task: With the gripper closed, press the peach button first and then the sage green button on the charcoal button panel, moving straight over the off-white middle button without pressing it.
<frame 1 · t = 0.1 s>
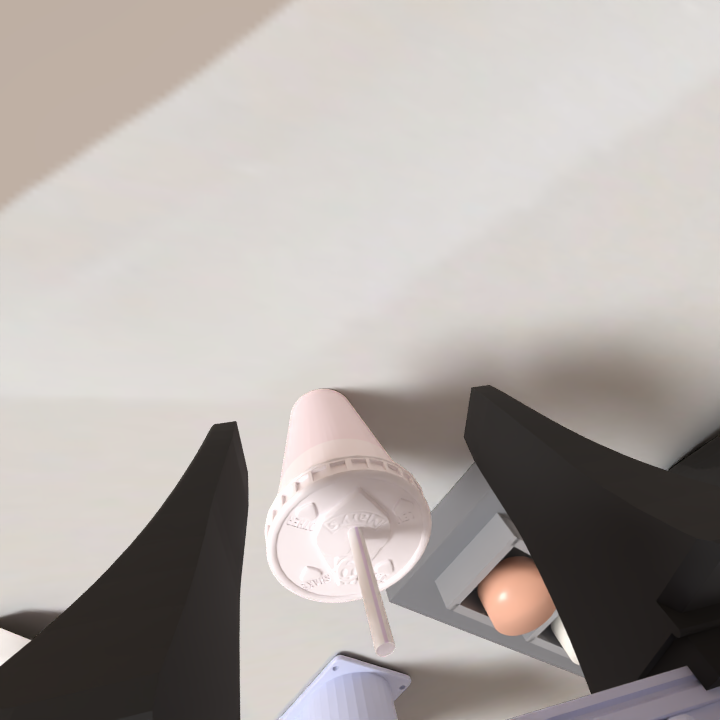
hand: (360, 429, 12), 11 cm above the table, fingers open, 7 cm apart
offwhite button: (588, 629, 28), point 5 cm above the table, slide at 0.0 cm
peach button: (517, 595, 25), point 5 cm above the table, slide at 0.0 cm
smoothie: (321, 415, 24), on the table
button panel: (543, 570, 33), on the table
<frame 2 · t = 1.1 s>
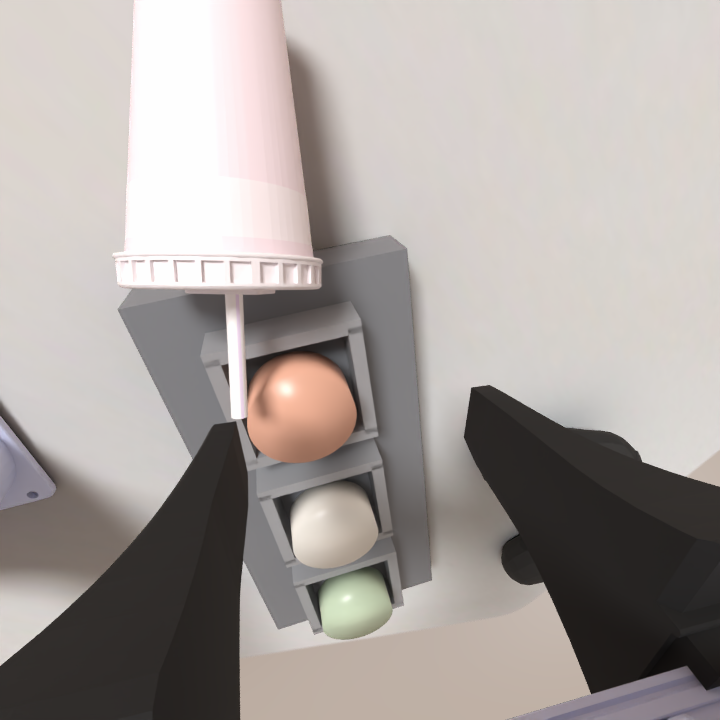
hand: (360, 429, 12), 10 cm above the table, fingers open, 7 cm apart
offwhite button: (333, 524, 21), point 5 cm above the table, slide at 0.0 cm
gaming controller: (536, 481, 33), on the table
peach button: (301, 407, 17), point 5 cm above the table, slide at 0.0 cm
sage button: (354, 602, 26), point 5 cm above the table, slide at 0.0 cm
button panel: (319, 458, 26), on the table
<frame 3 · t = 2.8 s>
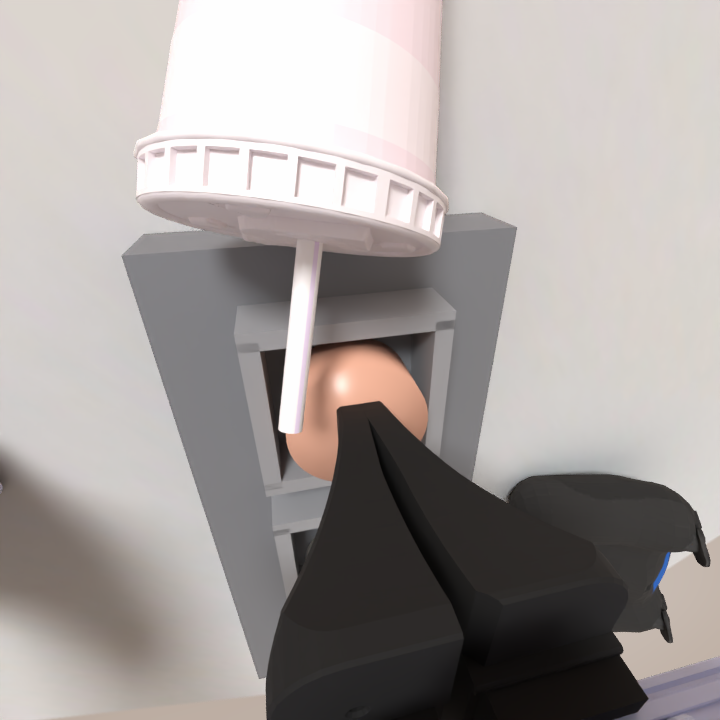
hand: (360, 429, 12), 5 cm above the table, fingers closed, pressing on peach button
offwhite button: (360, 571, 17), point 5 cm above the table, slide at 0.0 cm
gaming controller: (561, 529, 29), on the table
peach button: (352, 410, 13), point 4 cm above the table, slide at 0.6 cm, touching gripper
button panel: (340, 480, 21), on the table
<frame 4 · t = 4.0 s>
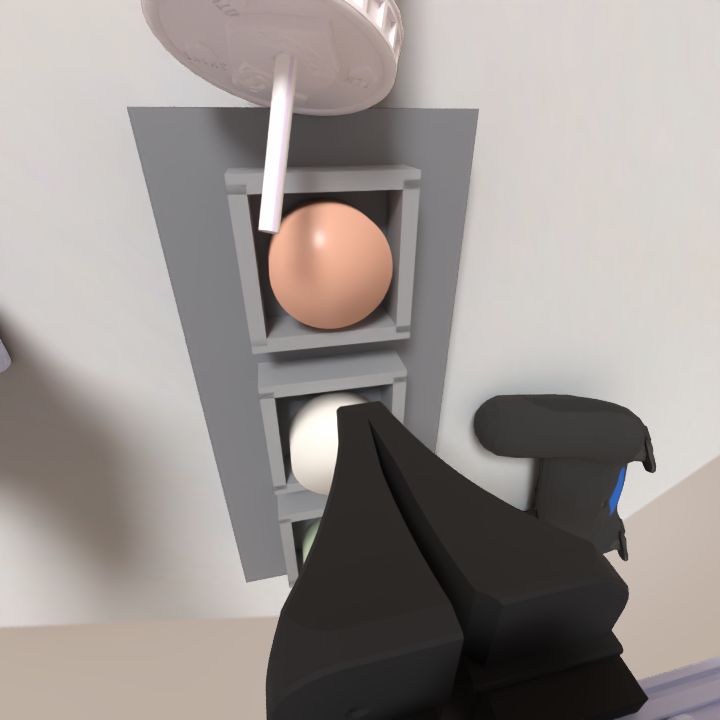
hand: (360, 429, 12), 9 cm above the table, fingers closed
offwhite button: (339, 443, 18), point 5 cm above the table, slide at 0.0 cm
gaming controller: (528, 459, 30), on the table
peach button: (328, 264, 15), point 4 cm above the table, slide at 1.0 cm
sage button: (342, 551, 22), point 5 cm above the table, slide at 0.0 cm
button panel: (324, 383, 22), on the table
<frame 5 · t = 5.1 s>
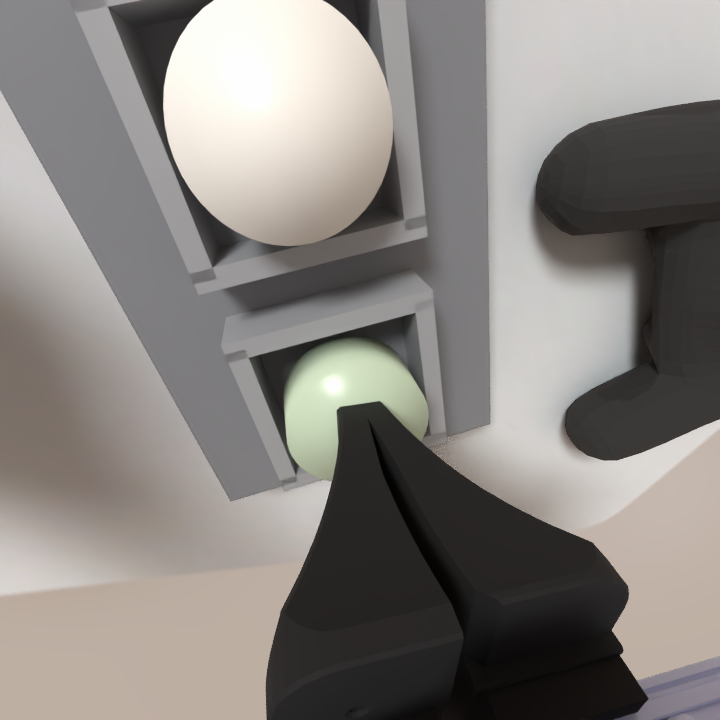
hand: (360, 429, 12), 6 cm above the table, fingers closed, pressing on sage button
offwhite button: (283, 132, 9), point 5 cm above the table, slide at 0.0 cm
gaming controller: (628, 281, 20), on the table
sage button: (353, 410, 13), point 5 cm above the table, slide at 0.0 cm, touching gripper
button panel: (275, 128, 13), on the table
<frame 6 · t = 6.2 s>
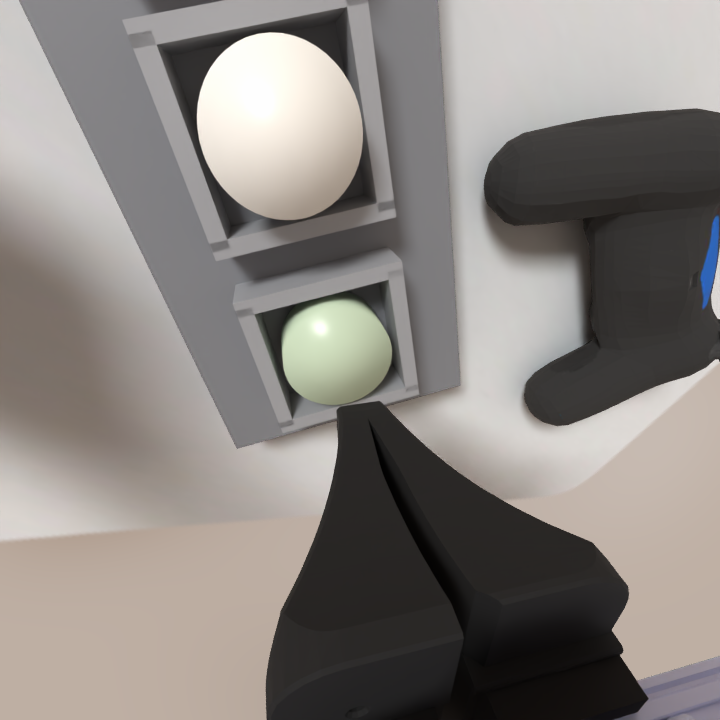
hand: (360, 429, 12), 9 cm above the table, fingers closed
offwhite button: (282, 134, 12), point 5 cm above the table, slide at 0.0 cm
gaming controller: (574, 268, 23), on the table
sage button: (335, 348, 17), point 4 cm above the table, slide at 1.0 cm
button panel: (276, 131, 16), on the table
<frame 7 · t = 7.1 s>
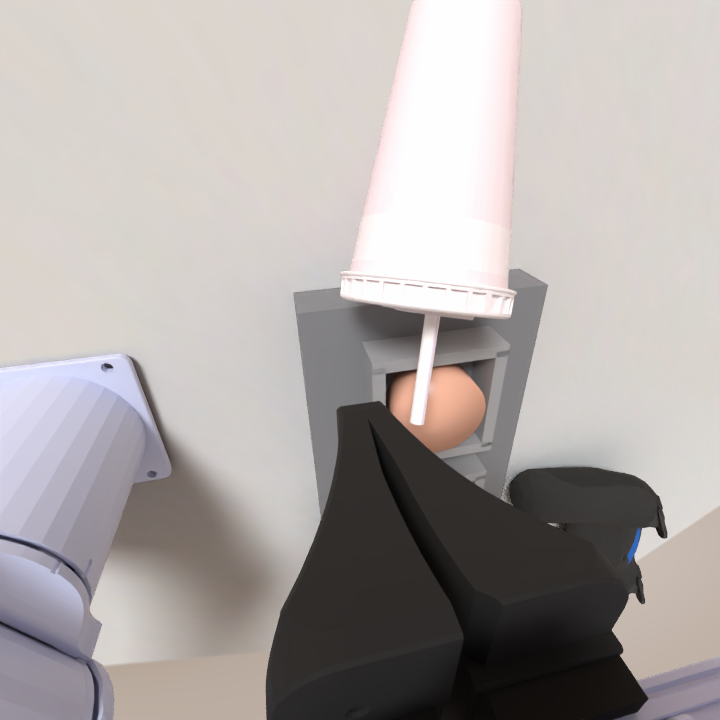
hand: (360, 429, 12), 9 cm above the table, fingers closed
gaming controller: (554, 513, 35), on the table
peach button: (433, 404, 20), point 4 cm above the table, slide at 1.0 cm
smoothie: (464, 13, 13), point 2 cm above the table, touching button panel
button panel: (405, 464, 27), on the table
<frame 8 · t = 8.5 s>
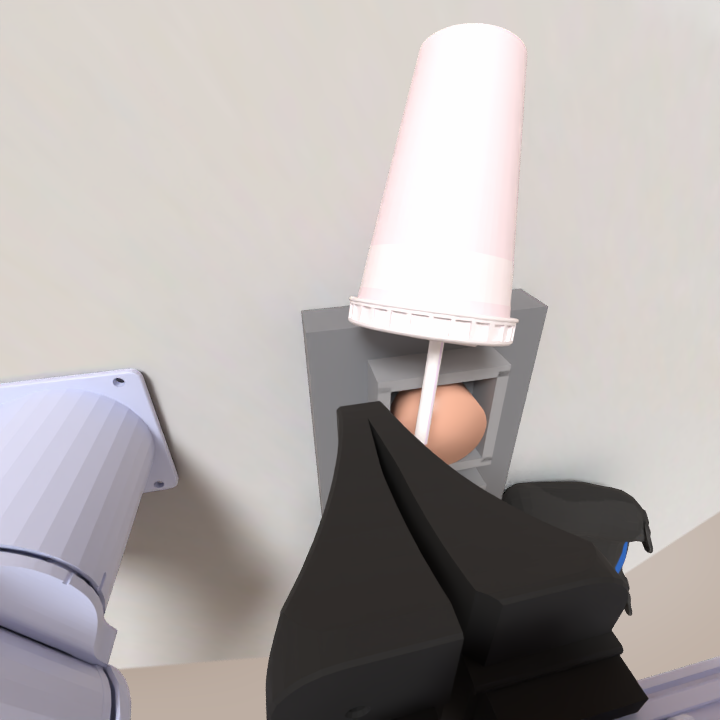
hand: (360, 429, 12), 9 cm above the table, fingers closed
gaming controller: (544, 524, 35), on the table
peach button: (436, 421, 20), point 4 cm above the table, slide at 1.0 cm
smoothie: (471, 52, 14), point 2 cm above the table, touching button panel
button panel: (405, 475, 28), on the table
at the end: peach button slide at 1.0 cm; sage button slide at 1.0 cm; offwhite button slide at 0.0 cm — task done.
